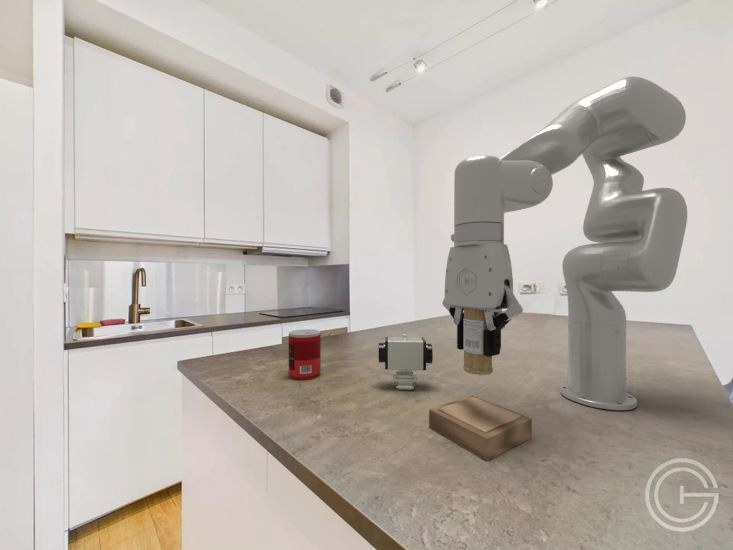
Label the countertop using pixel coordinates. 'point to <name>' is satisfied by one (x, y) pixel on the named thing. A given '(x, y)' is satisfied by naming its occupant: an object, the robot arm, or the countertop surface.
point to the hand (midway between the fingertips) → (477, 350)
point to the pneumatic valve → (405, 358)
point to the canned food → (304, 354)
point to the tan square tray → (480, 426)
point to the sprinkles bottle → (475, 343)
